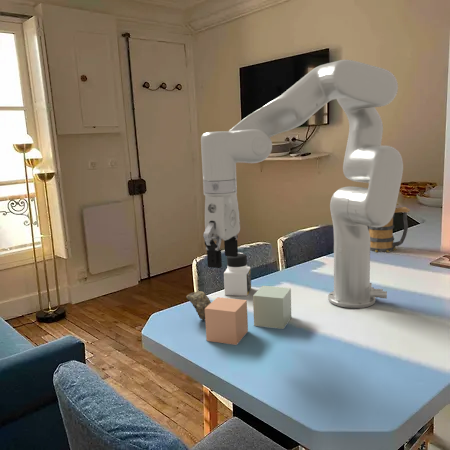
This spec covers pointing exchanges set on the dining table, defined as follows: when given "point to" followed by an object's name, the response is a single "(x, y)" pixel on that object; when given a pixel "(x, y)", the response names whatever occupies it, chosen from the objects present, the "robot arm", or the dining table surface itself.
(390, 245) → the mug
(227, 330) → the salmon pink box
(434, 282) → the dining table surface
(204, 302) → the rock
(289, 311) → the sage green cube
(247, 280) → the medicine bottle
